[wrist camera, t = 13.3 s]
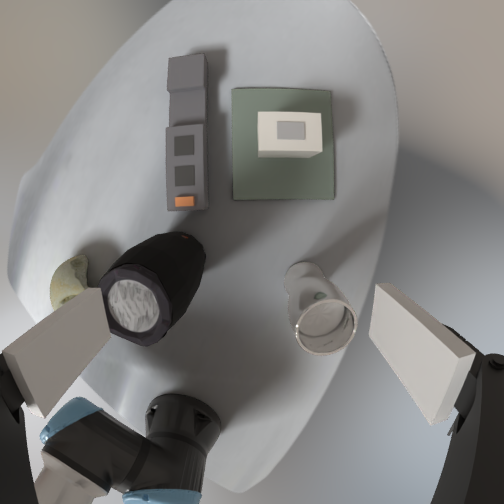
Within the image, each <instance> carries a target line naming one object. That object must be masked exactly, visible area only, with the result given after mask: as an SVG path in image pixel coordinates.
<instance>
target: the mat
mask: <svg viewBox="0 0 504 504" xmlns="http://www.w3.org/2000/svg"><path fill="white" fill-rule="evenodd" d="M258 112H307V113H321V126H322V152H321V153H319V154H316V155H314V156H312V157H310V158H258V133H257V123H258ZM232 164H233V200H256V199H322V200H334V154H333V127H332V109H331V94H330V91H319V90H304V89H274V88H257V89H232Z"/></svg>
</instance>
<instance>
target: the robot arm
mask: <svg viewBox="0 0 504 504" xmlns="http://www.w3.org/2000/svg"><path fill="white" fill-rule="evenodd" d="M369 337H370V338H371V340H372V341H373V342H374V344H375V345H376V347H377V348H378V349H379V351H380V352H381V353H382V355H383V356H384V358H385V359H386V361H387V362H388V363H389V365H390V366H391V368H392V369H393V371H394V372H395V373H396V375H397V376H398V378H399V379H400V380H401V382H402V384H403V385H404V387H405V388H406V389H407V391H408V392H409V394H410V395H411V397H412V398H413V400H414V401H415V403H416V404H417V406H418V407H419V409H420V410H421V412H422V413H423V415H424V416H425V418H426V419H427V421H428V423H429V424H430V425H433V424H436V423H439V422H442V421H445V420H447V419H448V418H449V415H450V414H451V412H452V410H453V408H454V407H455V408H456V409H457V410H458V412H459V413H458V415H457V417H456V419H455V421H454V423H453V425H452V427H451V428H450V430H449V432H448V434H447V435H448V436H449V435H450V434H451V432H452V431H453V433H452V437H451V441H450V445H449V449H448V453H447V457H446V460H445V463H444V467H443V470H442V473H441V476H440V479H439V482H438V485H437V488H436V491H435V494H434V496H433V499H432V501H431V504H504V356H503V355H500V354H488V355H483V354H482V353H481V352H480V351H479V350H478V349H476V348H475V347H474V346H473V345H472V344H471V343H469V342H468V341H466V339H465V338H463V337H462V336H460V334H458V333H457V332H456V331H455V330H454V329H452V328H450V327H448V326H446V325H444V324H441V323H440V322H439V321H438V320H436V319H435V318H434V317H433V316H432V315H430V314H429V313H428V312H426V311H425V310H424V309H423V308H421V307H420V306H419V305H418V304H416V303H415V302H414V301H413V300H411V299H410V298H409V297H407V296H406V295H405V294H404V293H402V292H401V291H400V290H398V289H397V288H396V287H395V286H393V285H392V284H391V283H381V284H376V287H375V295H374V303H373V311H372V318H371V324H370V331H369ZM110 338H111V334H110V330H109V326H108V322H107V317H106V313H105V308H104V303H103V298H102V292H101V288H87V289H86V290H84V291H83V292H81V293H80V294H78V295H77V296H75V297H74V298H73V299H71V300H70V301H68V302H67V303H65V304H64V305H63V306H61V307H60V308H58V309H57V310H55V311H54V312H53V313H51V314H50V315H49V316H47V317H46V318H44V319H43V320H42V321H40V322H39V323H38V324H36V325H35V326H34V327H32V328H31V329H30V330H28V331H27V332H26V333H24V334H23V335H22V336H20V337H19V338H18V339H16V340H15V341H14V342H13V343H11V344H10V345H9V346H7V347H6V348H5V349H4V350H2V353H1V354H0V504H92V502H93V499H94V498H96V497H101V496H106V495H108V493H109V491H110V488H111V487H112V488H113V489H115V490H117V491H119V492H121V493H123V495H122V498H123V502H124V504H199V501H200V499H201V497H202V495H201V490H202V484H203V477H204V471H205V464H206V458H207V454H208V453H209V451H210V450H211V448H212V447H213V445H214V444H215V442H216V441H217V439H218V437H219V434H220V427H221V423H220V419H219V417H218V415H217V414H216V413H215V412H214V410H213V409H211V408H210V407H209V406H208V405H206V404H205V403H203V402H201V401H199V400H197V399H194V398H191V397H188V396H184V395H177V394H169V395H163V396H159V397H157V398H155V399H154V400H153V401H152V402H151V403H150V405H149V407H148V409H147V411H146V416H145V422H146V438H145V437H143V436H142V435H140V434H139V433H137V432H135V431H134V430H132V429H130V428H129V427H127V426H126V425H124V424H122V423H121V422H119V421H118V420H116V419H115V418H114V417H112V416H111V415H109V414H108V413H106V412H105V411H104V410H103V409H102V408H99V407H97V406H96V405H94V404H93V403H91V402H90V401H88V400H87V399H85V398H83V397H76V398H73V399H71V400H70V401H69V402H68V403H66V404H65V405H64V406H63V407H62V408H61V409H60V410H59V411H58V412H57V413H56V414H55V415H54V416H53V417H52V418H51V419H50V421H49V422H48V424H47V425H46V426H45V428H44V429H43V430H42V432H41V433H40V439H41V441H42V443H43V444H45V446H44V448H43V449H42V451H41V455H42V458H43V461H44V467H43V469H42V471H41V473H40V474H39V476H38V478H37V479H36V481H35V483H34V482H33V477H32V472H31V467H30V461H29V455H28V448H27V440H26V431H25V418H24V412H23V410H22V408H21V405H22V403H23V402H24V401H25V403H26V405H27V407H28V408H29V410H30V412H31V413H32V414H34V415H37V416H39V417H41V418H44V419H45V418H46V416H47V415H48V414H49V413H50V411H51V410H52V408H53V407H54V406H55V405H56V404H57V402H58V401H59V400H60V398H61V397H62V396H63V395H64V393H65V392H66V391H67V390H68V388H69V387H70V386H71V385H72V383H73V382H74V381H75V380H76V379H77V377H78V376H79V375H80V374H81V373H82V371H83V370H84V369H85V368H86V367H87V365H88V364H89V363H90V362H91V361H92V359H93V358H94V357H95V356H96V355H97V353H98V352H99V351H100V350H101V349H102V348H103V346H104V345H105V344H106V343H107V342H108V341H109V339H110Z"/></svg>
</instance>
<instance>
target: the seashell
mask: <svg viewBox="0 0 504 504" xmlns="http://www.w3.org/2000/svg"><path fill="white" fill-rule="evenodd" d="M87 266H88V259H87V257H86V256H85V255H79V256H76V257H73V258H70V259H68V260H67V261H65V262H64V263H62V264H61V265H60V266H59V267H58V268H57V270H56V271H55V273H54V275H53V277H52V280H51V284H50V299H51V304H52V307H53V309H54V311H55V310H57V309H58V308H60V307H61V306H63V305H64V304H65V303H67V302H68V301H70V300H71V299H73V298H74V297H75V296H77V295H78V294H80V293H81V292H83V291H84V290H86V289H87V288H89V287H88V286H87V278H86V276H87V275H86V274H87Z"/></svg>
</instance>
